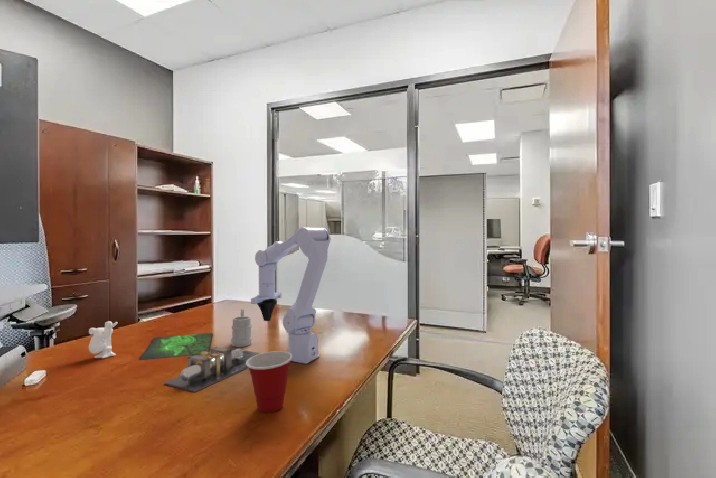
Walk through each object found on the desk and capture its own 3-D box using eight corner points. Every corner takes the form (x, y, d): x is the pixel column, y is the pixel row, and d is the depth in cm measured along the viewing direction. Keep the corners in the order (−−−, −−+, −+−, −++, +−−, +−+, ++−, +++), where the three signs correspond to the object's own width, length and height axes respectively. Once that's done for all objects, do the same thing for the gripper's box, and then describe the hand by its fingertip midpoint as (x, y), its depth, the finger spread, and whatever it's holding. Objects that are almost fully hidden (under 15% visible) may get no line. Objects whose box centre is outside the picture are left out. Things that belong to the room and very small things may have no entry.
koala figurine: (122, 353, 128) (121, 318, 128) (111, 359, 121) (111, 323, 121) (96, 354, 127) (95, 319, 127) (84, 361, 120) (83, 324, 120)
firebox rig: (272, 356, 124) (272, 338, 124) (194, 392, 96) (194, 368, 96) (245, 351, 129) (244, 333, 129) (164, 384, 102) (164, 361, 102)
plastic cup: (244, 401, 91) (244, 352, 91) (288, 394, 95) (288, 348, 95) (247, 422, 81) (246, 367, 81) (296, 413, 85) (296, 361, 84)
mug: (230, 348, 134) (230, 315, 134) (232, 339, 145) (232, 308, 145) (252, 346, 136) (251, 313, 136) (252, 337, 147) (252, 307, 147)
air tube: (235, 357, 120) (235, 345, 120) (243, 359, 118) (243, 346, 118) (180, 380, 101) (180, 365, 101) (188, 382, 100) (188, 367, 100)
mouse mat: (210, 354, 128) (209, 351, 128) (137, 362, 120) (137, 359, 120) (213, 334, 153) (213, 332, 153) (153, 339, 146) (153, 337, 146)
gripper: (271, 280, 142) (271, 315, 142) (244, 285, 129) (244, 323, 129) (286, 281, 139) (286, 317, 139) (259, 286, 126) (260, 326, 126)
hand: (267, 320), depth 134 cm, fingers closed
